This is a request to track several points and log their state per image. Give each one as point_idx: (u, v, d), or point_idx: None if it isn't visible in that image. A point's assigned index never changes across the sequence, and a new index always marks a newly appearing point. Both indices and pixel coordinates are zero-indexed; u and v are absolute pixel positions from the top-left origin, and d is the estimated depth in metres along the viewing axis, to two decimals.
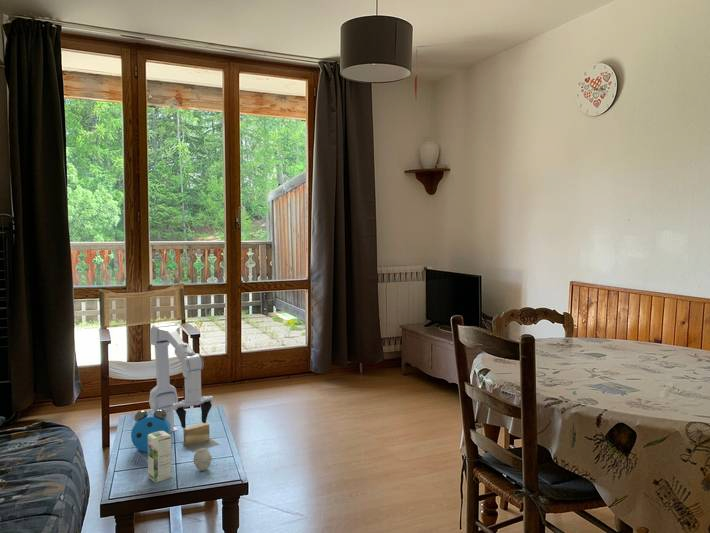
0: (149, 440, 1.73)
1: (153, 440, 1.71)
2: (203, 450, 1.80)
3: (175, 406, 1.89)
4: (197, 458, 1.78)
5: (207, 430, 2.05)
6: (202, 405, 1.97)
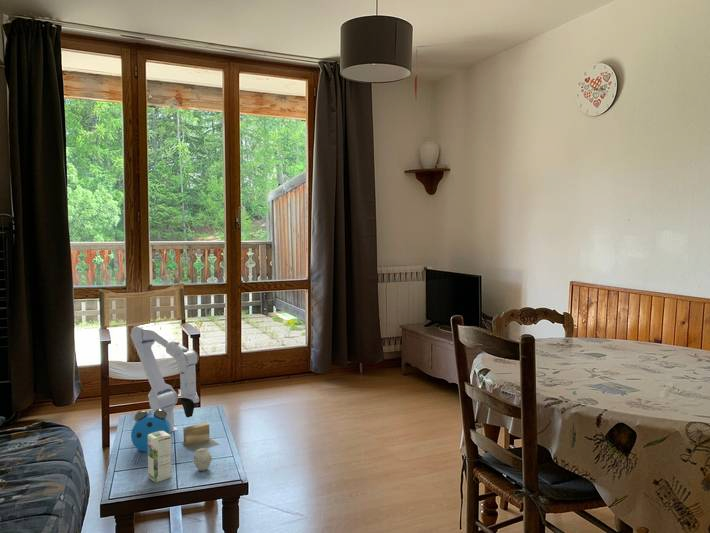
0: (149, 440, 1.73)
1: (153, 440, 1.71)
2: (203, 450, 1.80)
3: (178, 391, 2.12)
4: (197, 458, 1.78)
5: (207, 430, 2.05)
6: None
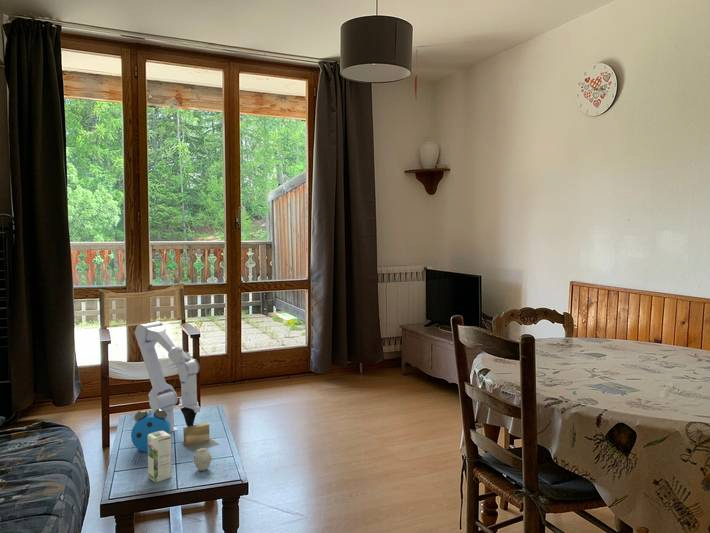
0: (149, 440, 1.73)
1: (153, 440, 1.71)
2: (203, 450, 1.80)
3: (179, 400, 2.11)
4: (197, 458, 1.78)
5: (207, 430, 2.05)
6: None
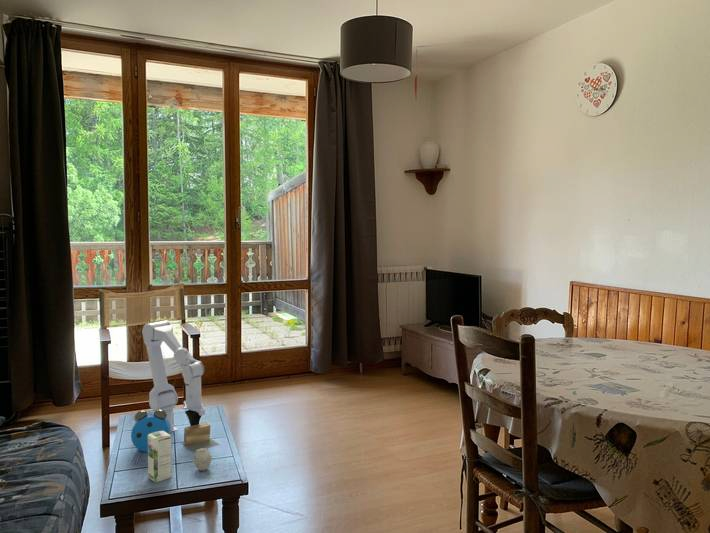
0: (149, 440, 1.73)
1: (153, 440, 1.71)
2: (203, 450, 1.80)
3: None
4: (197, 458, 1.78)
5: (208, 431, 2.04)
6: None
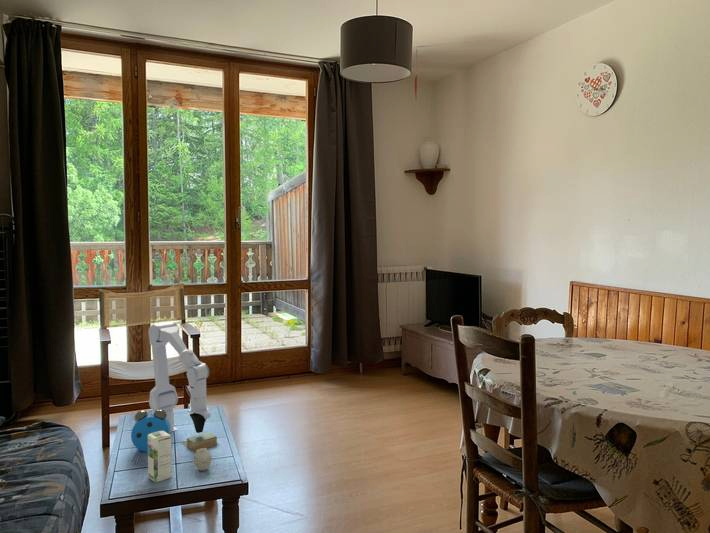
0: (149, 440, 1.73)
1: (153, 440, 1.71)
2: (203, 450, 1.80)
3: (188, 405, 2.05)
4: (197, 458, 1.78)
5: None
6: None
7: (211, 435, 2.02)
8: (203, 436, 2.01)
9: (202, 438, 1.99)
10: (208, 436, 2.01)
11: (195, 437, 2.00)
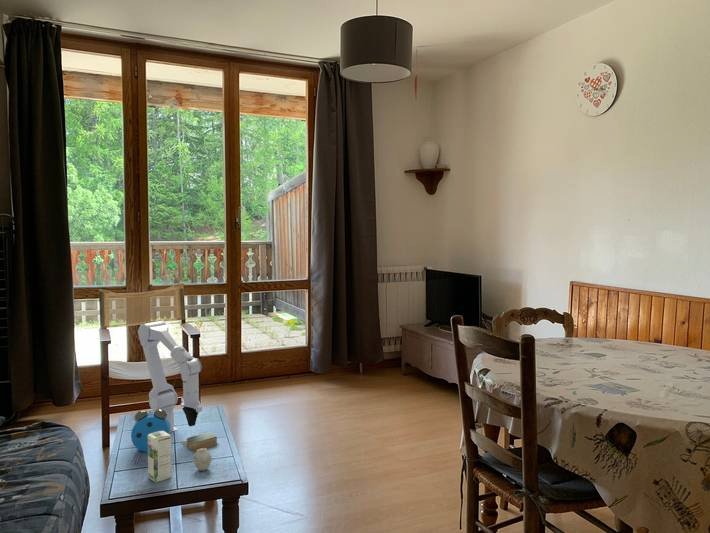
0: (149, 440, 1.73)
1: (153, 440, 1.71)
2: (203, 450, 1.80)
3: (181, 399, 2.10)
4: (197, 458, 1.78)
5: None
6: None
7: (211, 435, 2.02)
8: (203, 436, 2.01)
9: (202, 438, 1.99)
10: (208, 436, 2.01)
11: (195, 437, 2.00)
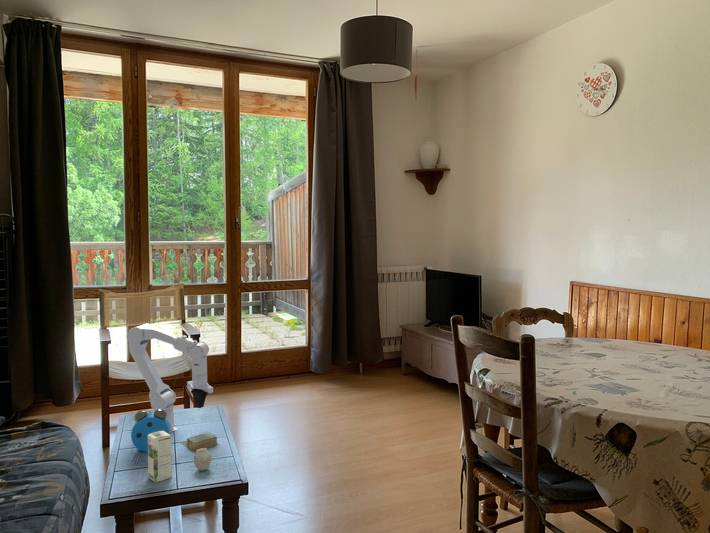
0: (149, 440, 1.73)
1: (153, 440, 1.71)
2: (203, 450, 1.80)
3: (187, 383, 2.15)
4: (197, 458, 1.78)
5: None
6: None
7: (211, 435, 2.02)
8: (203, 436, 2.01)
9: (202, 438, 1.99)
10: (208, 436, 2.01)
11: (195, 437, 2.00)
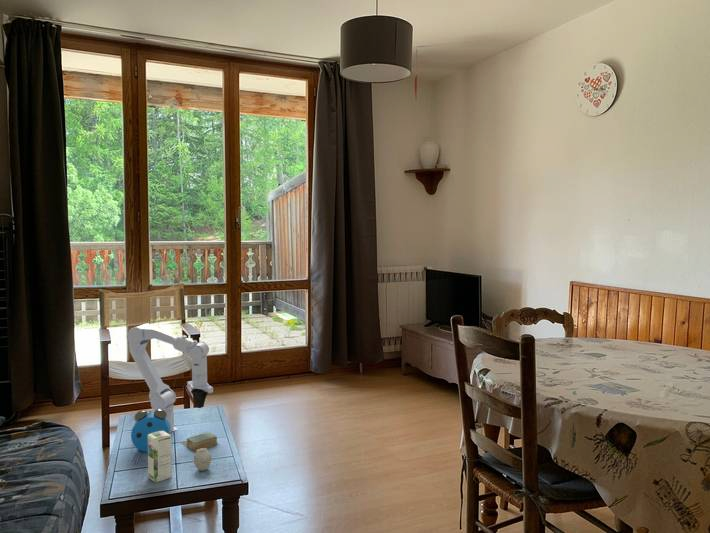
0: (149, 440, 1.73)
1: (153, 440, 1.71)
2: (203, 450, 1.80)
3: (187, 383, 2.15)
4: (197, 458, 1.78)
5: None
6: None
7: (211, 435, 2.02)
8: (203, 436, 2.01)
9: (202, 438, 1.99)
10: (208, 436, 2.01)
11: (195, 437, 2.00)
